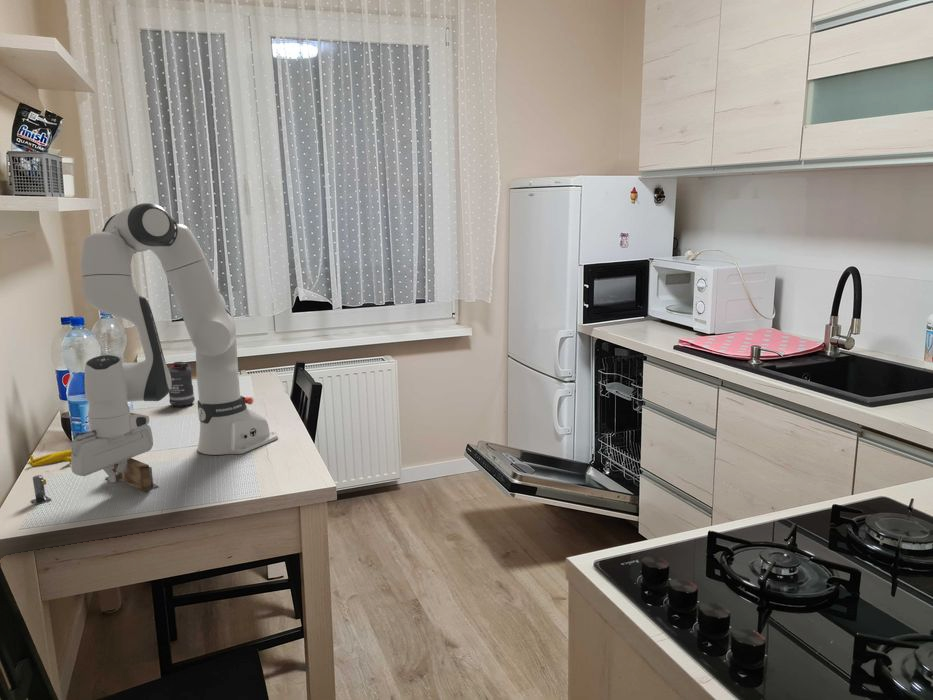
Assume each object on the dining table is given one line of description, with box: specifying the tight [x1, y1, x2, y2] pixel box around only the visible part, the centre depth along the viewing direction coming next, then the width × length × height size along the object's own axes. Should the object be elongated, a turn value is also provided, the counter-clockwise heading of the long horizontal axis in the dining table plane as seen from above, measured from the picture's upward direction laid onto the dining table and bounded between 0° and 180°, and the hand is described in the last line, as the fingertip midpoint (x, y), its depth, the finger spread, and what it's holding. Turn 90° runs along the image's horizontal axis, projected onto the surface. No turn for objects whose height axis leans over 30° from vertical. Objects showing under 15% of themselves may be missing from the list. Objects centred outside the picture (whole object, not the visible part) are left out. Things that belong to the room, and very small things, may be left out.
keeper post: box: [149, 466, 160, 490], centre depth 170 cm, size 3×3×5 cm
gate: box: [114, 457, 152, 492], centre depth 170 cm, size 14×2×6 cm, turn 53°
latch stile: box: [30, 474, 52, 506], centre depth 162 cm, size 3×3×6 cm
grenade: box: [168, 361, 195, 408], centre depth 239 cm, size 8×8×15 cm
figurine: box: [28, 449, 72, 468], centre depth 190 cm, size 14×5×18 cm
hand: (116, 480), depth 167 cm, fingers closed
